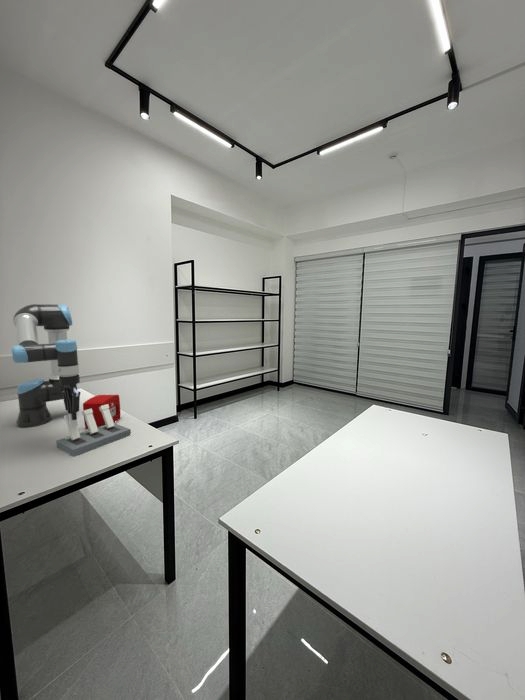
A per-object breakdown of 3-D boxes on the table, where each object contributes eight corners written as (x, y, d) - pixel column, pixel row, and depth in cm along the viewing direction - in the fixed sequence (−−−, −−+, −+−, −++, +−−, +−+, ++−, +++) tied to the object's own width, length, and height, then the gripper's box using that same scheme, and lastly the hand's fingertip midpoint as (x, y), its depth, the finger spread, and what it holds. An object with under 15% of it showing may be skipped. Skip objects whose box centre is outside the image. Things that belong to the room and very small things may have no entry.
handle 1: (89, 434, 136) (81, 412, 138) (97, 432, 139) (89, 409, 141) (91, 433, 135) (83, 410, 137) (99, 430, 138) (91, 408, 140)
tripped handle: (70, 440, 129) (63, 416, 131) (79, 437, 132) (72, 414, 134) (72, 439, 128) (65, 415, 130) (81, 436, 131) (74, 412, 133)
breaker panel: (56, 446, 131) (56, 440, 130) (113, 427, 152) (112, 422, 152) (73, 456, 122) (73, 449, 122) (130, 435, 144) (130, 429, 143)
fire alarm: (105, 429, 150) (103, 401, 148) (84, 429, 150) (82, 401, 148) (121, 418, 166) (119, 393, 164) (102, 418, 166) (100, 393, 164)
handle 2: (106, 429, 143) (98, 407, 145) (113, 426, 146) (106, 405, 148) (108, 427, 141) (100, 405, 143) (115, 425, 144) (108, 404, 146)
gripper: (52, 374, 128) (57, 426, 131) (66, 378, 121) (71, 432, 123) (71, 372, 134) (75, 420, 137) (85, 375, 127) (89, 426, 130)
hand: (73, 426), depth 130 cm, fingers closed
